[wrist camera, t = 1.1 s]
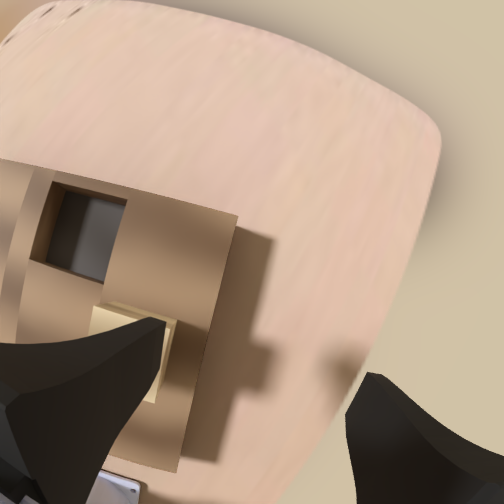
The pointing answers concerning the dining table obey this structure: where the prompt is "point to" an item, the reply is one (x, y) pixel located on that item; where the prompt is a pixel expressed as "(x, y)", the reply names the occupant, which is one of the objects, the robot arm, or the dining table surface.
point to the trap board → (112, 280)
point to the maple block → (123, 314)
